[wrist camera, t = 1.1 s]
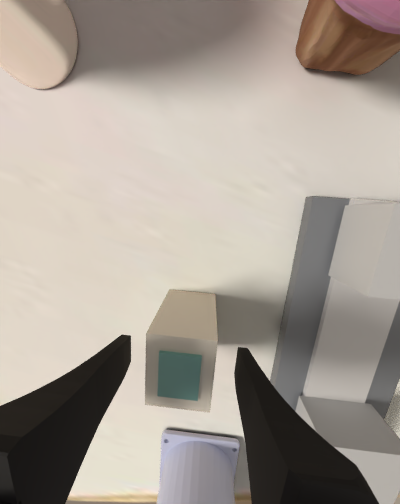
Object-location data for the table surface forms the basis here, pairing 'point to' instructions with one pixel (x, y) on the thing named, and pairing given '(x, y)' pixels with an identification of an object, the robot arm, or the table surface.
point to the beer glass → (37, 41)
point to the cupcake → (349, 34)
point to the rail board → (346, 332)
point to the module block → (182, 352)
